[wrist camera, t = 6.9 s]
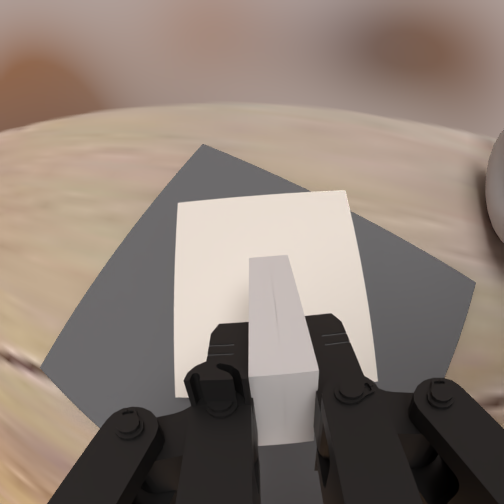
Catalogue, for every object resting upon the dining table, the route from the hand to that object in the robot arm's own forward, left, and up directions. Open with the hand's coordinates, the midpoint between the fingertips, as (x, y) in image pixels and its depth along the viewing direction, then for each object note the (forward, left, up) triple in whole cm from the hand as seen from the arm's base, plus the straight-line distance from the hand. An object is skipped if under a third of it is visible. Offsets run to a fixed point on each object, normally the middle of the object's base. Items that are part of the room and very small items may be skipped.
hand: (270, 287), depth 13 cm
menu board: (-2, +4, -4) cm, 6 cm away
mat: (0, +2, -6) cm, 6 cm away
